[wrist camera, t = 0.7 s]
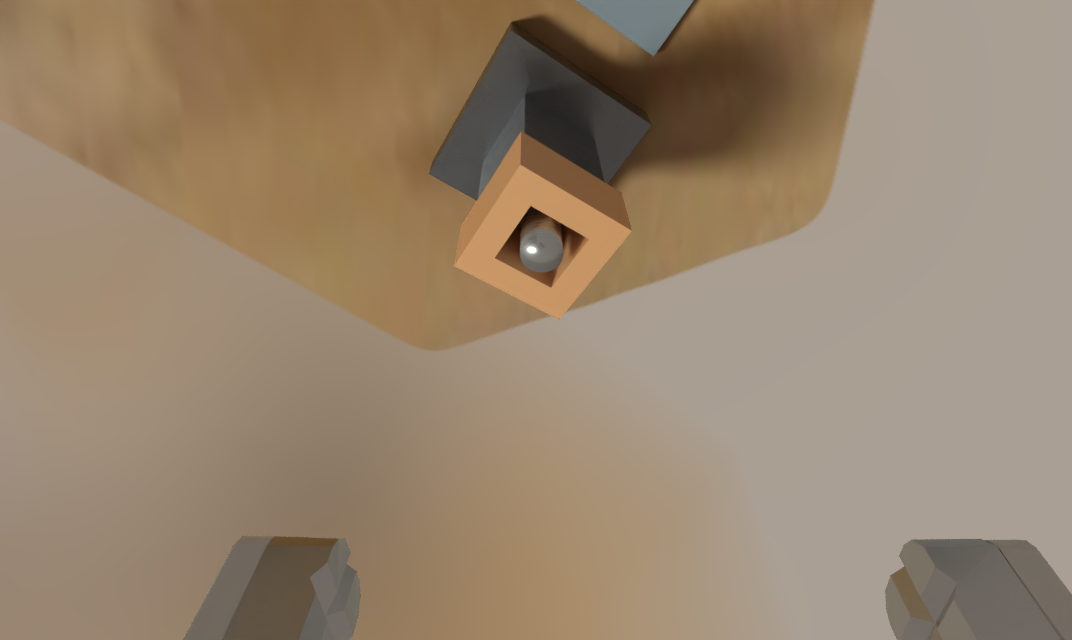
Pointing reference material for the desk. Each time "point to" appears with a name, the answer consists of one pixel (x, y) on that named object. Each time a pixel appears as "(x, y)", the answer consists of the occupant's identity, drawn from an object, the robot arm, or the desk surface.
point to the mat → (640, 18)
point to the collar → (562, 196)
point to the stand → (537, 130)
